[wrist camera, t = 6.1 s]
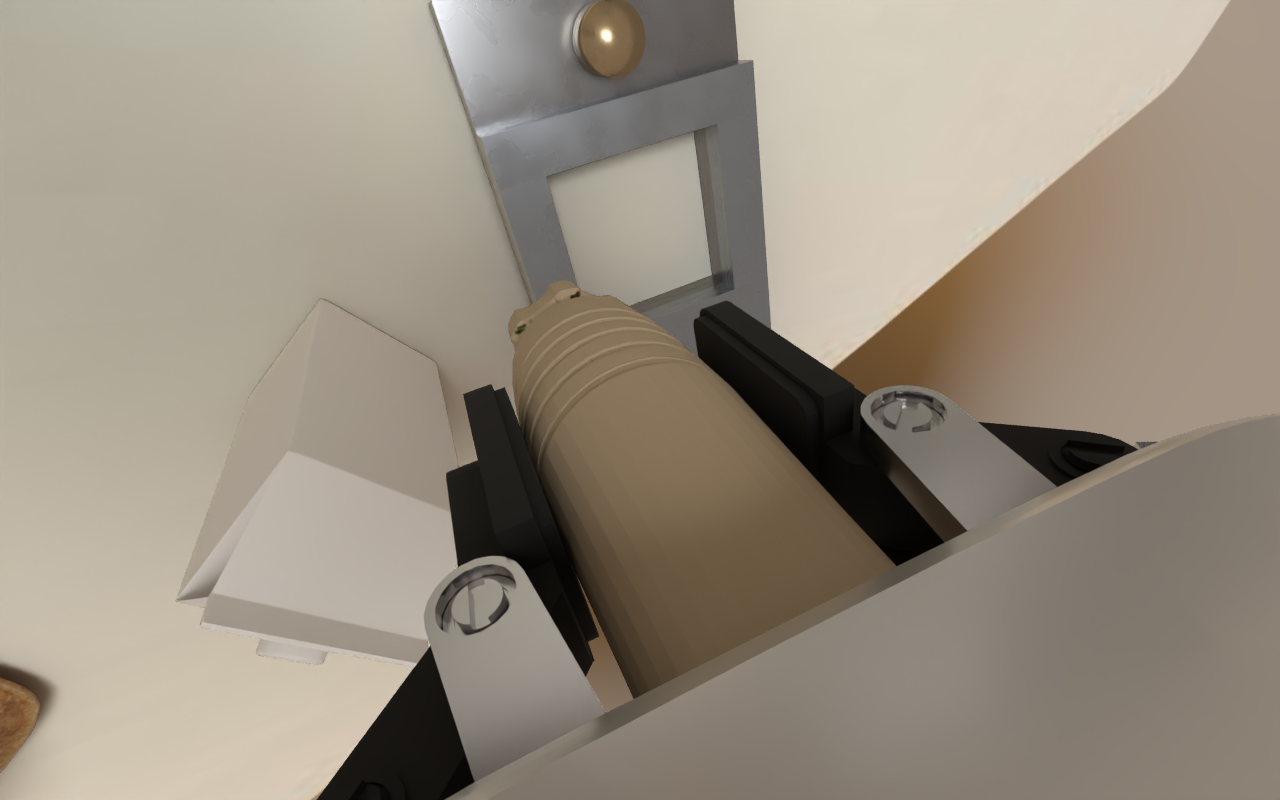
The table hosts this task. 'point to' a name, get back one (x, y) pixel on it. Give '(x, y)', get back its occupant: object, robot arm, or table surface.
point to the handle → (670, 490)
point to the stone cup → (15, 718)
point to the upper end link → (630, 124)
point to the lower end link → (582, 68)
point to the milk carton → (331, 501)
